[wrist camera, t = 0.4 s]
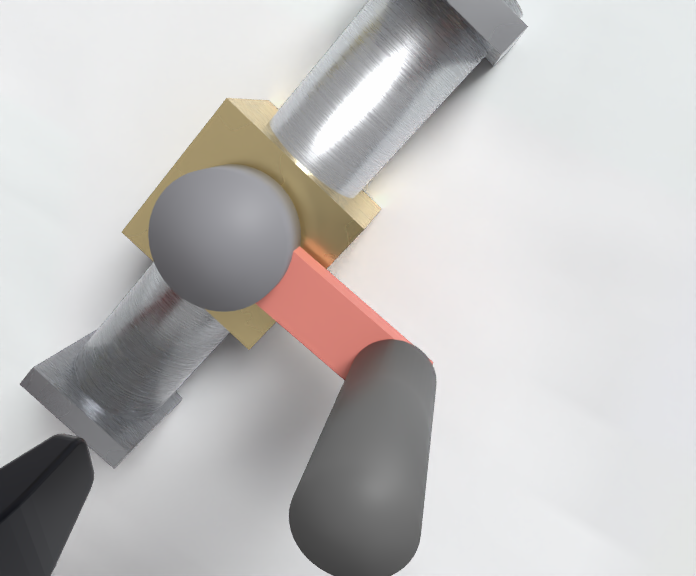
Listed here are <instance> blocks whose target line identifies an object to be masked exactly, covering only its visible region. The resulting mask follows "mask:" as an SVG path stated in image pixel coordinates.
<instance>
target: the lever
mask: <svg viewBox="0 0 696 576" xmlns="http://www.w3.org/2000/svg"><path fill="white" fill-rule="evenodd" d="M148 238H149V247H150V251H151V255H152V258H153V261H154V264H155V266H156V268H157V270H158V272H159V273H160V275H161V276H162V278H163V280H164V281H165V282H166V283H167V284H168V286H169V287H170V288H171V289H172V290H173V291H174V292H175V293H176V294H178V295H179V296H180V297H182V298H183V299H184V300H186V301H188V302H189V303H191V304H193V305H196V306H198V307H200V308H204V309H207V310H212V311H221V312H228V311H236V310H240V309H244V308H246V307H249V306H251V305H253V304H257V305H258V306H259V307H260V308H261V309H262V310H264V311H265V312H266V313H267V314H268V315H269V316H271V317H272V318H273V319H274V320H275V321H276V322H278V323H279V324H280V325H281V326H282V327H283V328H285V329H286V330H287V331H288V332H289V333H290V334H291V335H293V336H294V337H295V338H296V339H297V340H298V341H300V342H301V343H302V344H303V345H304V346H305V347H307V348H308V349H309V350H310V351H311V352H312V353H314V354H315V355H316V356H317V357H318V358H319V359H321V360H322V361H323V362H324V363H325V364H326V365H328V366H329V367H330V368H331V369H332V370H333V371H334V372H336V373H337V374H338V375H339V376H340V377H341V378H343V379H344V380H345V381H344V383H343V386H342V388H341V390H340V392H339V395H338V397H337V399H336V401H335V404H334V406H333V408H332V410H331V413H330V415H329V417H328V419H327V422H326V424H325V426H324V428H323V431H322V433H321V435H320V437H319V440H318V442H317V444H316V446H315V449H314V451H313V453H312V455H311V458H310V460H309V462H308V464H307V467H306V469H305V471H304V473H303V475H302V478H301V480H300V482H299V484H298V487H297V489H296V491H295V493H294V496H293V498H292V501H291V504H290V509H289V523H290V528H291V532H292V535H293V538H294V540H295V542H296V544H297V545H298V547H299V548H300V550H301V551H302V553H303V554H304V555H305V556H306V557H307V558H308V559H309V560H310V561H311V562H312V563H313V564H315V565H316V566H317V567H319V568H320V569H322V570H323V571H325V572H327V573H329V574H331V575H333V576H391V575H393V574H395V573H397V572H398V571H400V570H401V569H402V568H404V567H405V566H406V565H407V564H408V563H409V562H410V560H411V559H412V558H413V556H414V555H415V553H416V551H417V548H418V545H419V542H420V536H421V528H422V518H423V508H424V499H425V489H426V479H427V470H428V460H429V450H430V440H431V431H432V421H433V411H434V402H435V392H436V374H435V370H434V368H433V362H432V361H431V360H430V359H429V358H428V357H427V356H426V355H425V354H424V353H423V352H422V351H421V350H420V349H419V348H417V347H416V346H414V345H413V344H412V343H410V342H409V341H408V340H407V339H406V338H405V337H404V336H402V335H401V334H400V333H399V332H398V331H397V330H395V329H394V328H393V327H392V326H391V325H390V324H389V323H387V322H386V321H385V320H384V319H383V318H382V317H381V316H379V315H378V314H377V313H376V312H375V311H374V310H372V309H371V308H370V307H369V306H368V305H367V304H366V303H364V302H363V301H362V300H361V299H360V298H359V297H358V296H356V295H355V294H354V293H353V292H352V291H351V290H349V289H348V288H347V287H346V286H345V285H344V284H343V283H341V282H340V281H339V280H338V279H337V278H336V277H335V276H333V275H332V274H331V273H330V272H329V271H328V270H326V269H325V268H324V267H323V266H322V265H321V264H320V263H318V262H317V261H316V260H315V259H314V258H313V257H311V256H310V255H309V254H308V253H307V252H306V251H305V250H303V249H302V248H301V247H300V244H301V227H300V221H299V217H298V214H297V211H296V208H295V206H294V204H293V202H292V200H291V198H290V197H289V195H288V194H287V193H286V191H285V190H284V189H283V187H282V186H281V185H279V184H278V183H277V182H276V181H275V180H274V179H273V178H271V177H270V176H269V175H267V174H265V173H264V172H262V171H260V170H257V169H255V168H252V167H249V166H245V165H237V164H227V165H220V166H215V167H211V168H206V169H202V170H197V171H194V172H190V173H187V174H185V175H183V176H181V177H179V178H178V179H176V180H175V181H173V182H172V183H171V184H170V185H169V186H168V187H166V189H165V190H164V191H163V192H162V193H161V195H160V196H159V198H158V199H157V201H156V203H155V205H154V208H153V210H152V213H151V217H150V221H149V231H148Z"/></svg>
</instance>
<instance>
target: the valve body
mask: <svg viewBox="0 0 696 576" xmlns="http://www.w3.org/2000/svg"><path fill="white" fill-rule="evenodd" d="M522 16H523V13H522V10H521V8H520V6H519V4H518V3H517V1H516V0H369V1H368V2H367V4H366V5H365V6H364V7H363V8H362V10H361V11H360V12H359V13H358V14H357V16H356V17H355V18H354V19H353V21H352V22H351V23H350V24H349V25H348V27H347V28H346V29H345V30H344V31H343V33H342V34H341V35H340V36H339V37H338V39H337V40H336V41H335V42H334V44H333V45H332V46H331V47H330V48H329V50H328V51H327V52H326V53H325V54H324V56H323V57H322V58H321V59H320V61H319V62H318V63H317V64H316V65H315V67H314V68H313V69H312V70H311V71H310V73H309V74H308V75H307V76H306V78H305V79H304V80H303V81H302V82H301V84H300V85H299V86H298V87H297V88H296V90H295V91H294V92H293V93H292V95H291V96H290V97H289V98H288V99H287V101H286V102H285V103H284V104H283V105H282V107H281V108H280V109H279V110H278V109H277V108H276V107H275V106H274V105H273V104H272V103H271V102H270V101H269V100H252V99H234V98H226V100H225V101H224V102H223V103H222V105H221V106H220V107H219V108H218V110H217V111H216V112H215V114H214V115H213V116H212V117H211V119H210V120H209V121H208V123H207V124H206V125H205V126H204V128H203V129H202V130H201V131H200V133H199V134H198V135H197V137H196V138H195V139H194V140H193V142H192V143H191V144H190V145H189V147H188V148H187V149H186V151H185V152H184V153H183V154H182V156H181V157H180V158H179V159H178V161H177V162H176V163H175V165H174V166H173V167H172V168H171V170H170V171H169V172H168V173H167V175H166V176H165V177H164V179H163V180H162V181H161V182H160V184H159V185H158V186H157V188H156V189H155V190H154V191H153V193H152V194H151V195H150V196H149V198H148V199H147V200H146V202H145V203H144V204H143V205H142V207H141V208H140V209H139V210H138V212H137V213H136V214H135V216H134V217H133V218H132V219H131V221H130V222H129V223H128V224H127V226H126V227H125V228H124V230H123V231H122V233H123V234H124V235H125V236H126V237H127V238H129V239H130V240H131V241H132V242H133V243H134V244H135V245H136V246H137V247H138V248H139V249H140V250H141V251H143V252H144V253H145V254H146V255H147V256H148V257H149V258H150V259H151V260H152V261H153V258H152V255H151V251H150V247H149V238H148V231H149V221H150V217H151V213H152V210H153V208H154V205H155V203H156V201H157V199H158V198H159V196H160V195H161V193H162V192H163V191H164V190H165V189H166V187H168V186H169V185H170V184H171V183H172V182H173V181H175V180H176V179H178V178H179V177H181V176H183V175H185V174H187V173H190V172H194V171H197V170H202V169H206V168H211V167H215V166H220V165H227V164H237V165H245V166H249V167H252V168H255V169H257V170H260V171H262V172H264V173H265V174H267V175H269V176H270V177H271V178H273V179H274V180H275V181H276V182H277V183H278V184H279V185H281V186H282V187H283V189H284V190H285V191H286V193H287V194H288V195H289V197H290V198H291V200H292V202H293V204H294V206H295V208H296V211H297V214H298V217H299V221H300V227H301V244H300V247H301V248H302V249H303V250H305V251H306V252H307V253H308V254H309V255H310V256H311V257H313V258H314V259H315V260H316V261H317V262H318V263H320V264H321V265H322V266H323V267H324V268H325V269H327V268H328V267H329V266H330V265H331V264H332V263H333V261H334V260H335V259H336V258H337V257H338V256H339V255H340V254H341V253H342V252H343V251H344V250H345V249H346V248H347V247H348V246H349V245H350V244H351V243H352V242H353V240H354V239H355V238H356V237H357V236H358V235H359V234H360V233H361V232H362V231H363V230H364V229H365V228H366V227H367V225H368V224H369V223H370V222H371V221H372V220H373V218H374V217H375V216H376V215H377V214H378V212H379V211H380V210H381V208H380V207H379V206H378V205H377V204H376V203H375V202H374V201H373V200H372V199H371V198H370V197H369V196H368V195H367V194H366V193H365V192H364V191H362V189H363V188H364V187H365V186H366V185H367V184H368V182H369V181H370V180H371V179H372V178H373V177H374V176H375V175H376V174H377V173H378V172H379V171H380V170H381V168H382V167H383V166H384V165H385V164H386V163H387V162H388V161H389V160H390V159H391V158H392V157H393V155H394V154H395V153H396V152H397V151H398V150H399V149H400V148H401V147H402V146H403V145H404V144H405V142H406V141H407V140H408V139H409V138H410V137H411V136H412V135H413V134H414V133H415V132H416V131H417V130H418V128H419V127H420V126H421V125H422V124H423V123H424V122H425V121H426V120H427V119H428V118H429V117H430V115H431V114H432V113H433V112H434V111H435V110H436V109H437V108H438V107H439V106H440V105H441V104H442V103H443V101H444V100H445V99H446V98H447V97H448V96H449V95H450V94H451V93H452V92H453V91H454V90H455V88H456V87H457V86H458V85H459V84H460V83H461V82H462V81H463V80H464V79H465V78H466V77H467V75H468V74H469V73H470V72H471V71H472V70H473V69H474V68H475V67H476V66H477V65H478V64H479V63H480V61H481V60H482V59H483V58H484V57H485V58H486V59H487V60H488V61H489V62H490V63H491V64H492V65H493V66H495V65H496V64H497V62H498V61H499V60H500V59H501V58H502V57H503V56H504V55H505V54H506V53H507V52H508V51H509V50H510V49H511V48H512V46H513V45H514V44H515V43H516V42H517V40H518V39H519V38H520V36H521V35H522V34H523V32H524V31H525V30H526V28H527V27H528V26H527V25H526V24H525V23H524V22H523V21H522V20H521V19H520V18H521V17H522ZM275 322H276V321H275V320H274V319H273V318H272V317H271V316H269V315H268V314H267V313H266V312H265V311H264V310H262V309H261V308H260V307H259V306H258V305H257V304H253V305H251V306H249V307H246V308H244V309H240V310H236V311H228V312H221V311H212V310H207V309H204V308H200V307H198V306H196V305H193V304H191V303H189V302H188V301H186V300H184V299H183V298H182V297H180V296H179V295H178V294H176V293H175V292H174V291H173V290H172V289H171V288H170V287H169V286H168V284H167V283H166V282H165V281H164V280H163V278H162V276H161V275H160V273H159V272H158V270H157V268H156V266H155V264H154V261H153V263H152V264H151V266H150V267H149V268H148V269H147V270H146V272H145V273H144V274H143V275H142V277H141V278H140V279H139V280H138V281H137V283H136V284H135V285H134V286H133V287H132V289H131V290H130V291H129V292H128V294H127V295H126V296H125V297H124V298H123V300H122V301H121V302H120V303H119V304H118V306H117V307H116V308H115V309H114V311H113V312H112V313H111V314H110V315H109V317H108V318H107V319H106V320H105V321H104V323H103V324H102V325H101V326H100V327H99V329H97V330H95V331H93V332H92V333H90V334H88V335H87V336H85V337H83V338H82V339H80V340H78V341H77V342H75V343H73V344H72V345H70V346H68V347H67V348H65V349H63V350H61V351H60V352H58V353H56V354H55V355H53V356H51V357H50V358H48V359H46V360H45V361H43V362H41V363H40V364H38V365H36V366H34V367H33V368H32V369H31V371H30V372H29V373H28V374H27V376H26V377H25V378H24V379H23V381H22V382H21V383H20V385H21V386H22V387H23V388H25V389H26V390H27V391H28V392H29V393H30V394H31V395H32V396H33V397H35V398H36V399H37V400H38V401H39V402H40V403H41V404H42V405H44V406H45V407H46V408H47V409H48V410H49V411H50V412H51V413H52V414H54V415H55V416H56V417H57V418H58V419H59V420H60V421H61V422H63V423H64V424H65V425H66V426H67V427H68V428H69V429H70V430H71V431H73V432H74V433H75V434H76V435H77V436H78V437H81V438H83V439H84V440H85V441H86V443H87V445H88V446H89V447H90V448H92V449H93V450H94V451H95V452H96V453H97V454H98V455H99V456H100V457H102V458H103V459H104V460H105V461H106V462H107V463H108V464H109V465H111V466H112V467H113V468H114V469H115V468H116V467H117V466H118V465H119V464H120V463H121V462H122V461H123V460H124V459H125V458H126V457H127V456H128V455H129V453H130V452H131V451H132V450H133V449H134V448H135V447H136V446H137V445H138V444H139V443H140V442H141V441H142V440H143V439H144V438H145V437H146V436H147V435H148V434H149V433H150V432H151V431H152V430H153V429H154V428H155V427H156V426H157V425H158V424H159V423H160V422H161V421H162V420H163V419H164V418H165V417H166V416H167V415H168V414H169V413H170V412H171V411H172V409H173V408H174V407H175V406H176V405H177V404H178V403H179V402H180V401H181V400H182V398H181V397H180V396H179V395H178V394H177V393H176V392H175V391H176V390H177V389H178V388H179V387H180V386H181V385H182V383H183V382H184V381H185V380H186V379H187V378H188V377H189V376H190V375H191V374H192V373H193V372H194V371H195V369H196V368H197V367H198V366H199V365H200V364H201V363H202V362H203V361H204V360H205V359H206V358H207V356H208V355H209V354H210V353H211V352H212V351H213V350H214V349H215V348H216V347H217V346H218V345H219V343H220V342H221V341H222V340H223V339H224V338H225V337H226V336H227V335H228V334H229V333H231V334H232V335H233V336H234V337H235V338H237V339H238V340H239V341H240V342H241V343H242V344H243V345H244V346H245V347H246V348H247V349H248V350H250V349H251V348H252V347H253V345H254V344H255V343H256V342H257V341H258V340H259V339H260V338H261V337H262V336H263V335H264V334H265V333H266V332H267V331H268V330H269V329H270V328H271V327H272V326H273V324H274V323H275Z"/></svg>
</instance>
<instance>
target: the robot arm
mask: <svg viewBox="0 0 696 576" xmlns="http://www.w3.org/2000/svg"><path fill="white" fill-rule="evenodd" d="M93 480H94V470H93V466H92V462H91V458H90V454H89V450H88V446H87V443H86V441H85V440H84V439H83V438H81V437H77V436H72V435H68V434H57V435H54V436H52V437H50V438H49V439H47V440H45V441H44V442H42V443H41V444H39V445H37V446H36V447H34V448H32V449H31V450H29V451H28V452H26V453H24V454H23V455H21V456H19V457H18V458H16V459H15V460H13V461H11V462H10V463H8V464H6V465H5V466H3V467H2V468H0V576H51V574H52V572H53V570H54V568H55V566H56V563H57V561H58V559H59V557H60V555H61V553H62V550H63V548H64V546H65V544H66V542H67V540H68V537H69V535H70V533H71V531H72V529H73V526H74V524H75V522H76V520H77V518H78V516H79V513H80V511H81V509H82V507H83V505H84V503H85V500H86V498H87V496H88V494H89V492H90V489H91V487H92V484H93Z"/></svg>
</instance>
